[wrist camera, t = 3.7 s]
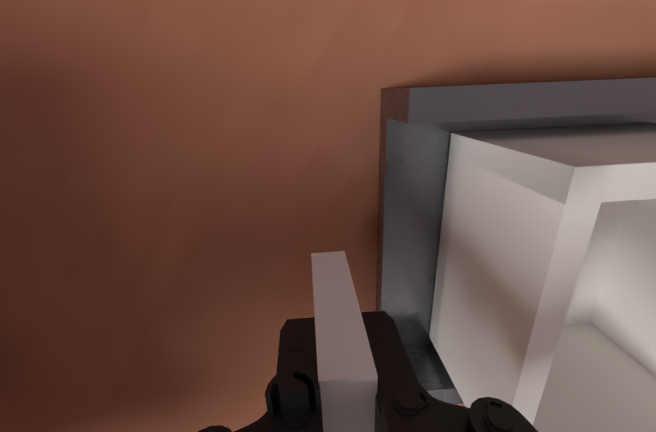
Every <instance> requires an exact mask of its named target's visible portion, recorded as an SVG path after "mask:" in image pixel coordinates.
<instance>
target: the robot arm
mask: <svg viewBox="0 0 656 432" xmlns="http://www.w3.org/2000/svg"><path fill="white" fill-rule="evenodd" d="M311 259H312V277H313V296H314V314H315V317H313V318H301V319H289V320H287V321H286V322H285V324H284V326H283V327H282V329H281V330H280V341H279V352H278V353H279V355H278V363H277V374H276V376H274V378H273V379H272V380H271V381H270V382H269V384H268V386H267V389H266V392H265V397H266V403H267V410H268V411H267V412H266V413H265V415H263V416H262V417H261V418H260V419H259V420H257V421H256V422H254V423H252V424H250V425H248V426H246V427H244V428H241V429H239V430H237V431H234V432H538V431H537V430H536V429H535V428H534V426H533V425H532V424H531V423H530V422H529V421H528V420H527V419H526V418H525V417H524V416H523V415H522V414H521V413H520V412H519V411H518V410H516V409H515V408H514V407H513V406H512V405H510V404H508V403H506V402H504V401H502V400H500V399H497V398H492V397H483V398H478V399H477V400H475V401H474V402H473V403H472V404H471V407H470V408H468V407H463V406H458V405H454V404H449V403H446V402H443V401H440V400H438V399H436V398H434V397H432V396H431V395H430V394H429V393H428V392H427V391H426V390H425V389H424V388H423V387H422V386H421V385H420V383H419V381H418V380H417V377H416V375H415V372H414V370H413V367H412V365H411V362H410V360H409V357H408V355H407V352H406V350H405V347H404V345H403V343H402V340H401V337H400V335H399V333H398V330H397V327H396V325H395V322H394V320H393V319H392V318H391V317H390V316H389V315H388V314H387V313H386V312H385V311H374V312H362V313H361V311H360V307H359V303H358V299H357V296H356V292H355V288H354V284H353V281H352V277H351V273H350V269H349V266H348V262H347V258H346V254H345V251H337V252H323V253H311ZM198 432H232V431H231V430H230V429H229V428H226V427H224V426H221V425H220V426H209V427H207V428H205V429H202V430H200V431H198Z"/></svg>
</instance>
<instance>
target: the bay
mask: <svg viewBox="0 0 656 432" xmlns="http://www.w3.org/2000/svg"><path fill="white" fill-rule="evenodd" d="M640 123H656V78H632V79H608V80H584V81H560V82H536V83H512V84H488V85H464V86H440V87H416V88H393V89H381V122H380V164H379V206H378V249H377V291H376V311H385V312H386V313H387V314H388V315H389V316H390V317H391V318H392V319H393V320H394V322H395V325H396V327H397V330H398V333H399V335H400V337H401V340H402V343H403V345H404V347H405V350H406V352H407V355H408V357H409V360H410V362H411V365H412V367H413V370H414V372H415V375H416V377H417V380H418V381H419V383H420V385H421V386H422V387H423V388H424V389H425V390H426V391H427V392H428V393H429V394H430V395H431V396H432V397H434V398H436V399H438V400H440V401H443V402H446V403H449V404H460V403H463V401H462V399H461V397H460V395H459V393H458V391H457V389H456V387H455V386H454V384H453V382H452V380H451V378H450V376H449V374H448V372H447V370H446V368H445V366H444V364H443V362H442V360H441V358H440V356H439V355H438V353H437V351H436V349H435V347H434V345H433V343H432V341H431V339H430V337H429V336H430V326H431V317H432V308H433V298H434V289H435V280H436V270H437V261H438V252H439V242H440V233H441V224H442V214H443V205H444V196H445V186H446V177H447V168H448V158H449V149H450V139H451V133H461V132H481V131H501V130H521V129H541V128H561V127H581V126H601V125H620V124H640Z"/></svg>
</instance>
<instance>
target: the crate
mask: <svg viewBox="0 0 656 432" xmlns="http://www.w3.org/2000/svg"><path fill="white" fill-rule="evenodd" d="M429 337H430V339H431V341H432V343H433V345H434V347H435V349H436V351H437V353H438V355H439V356H440V358H441V360H442V362H443V364H444V366H445V368H446V370H447V372H448V374H449V376H450V378H451V380H452V382H453V384H454V386H455V387H456V389H457V391H458V393H459V395H460V397H461V399H462V401H463V403H464V405H465V407H468V408H470V407H471V404H472V403H473V402H474V401H475V400H477V399H478V398H483V397H492V398H497V399H500V400H502V401H504V402H506V403H508V404H510V405H512V406H513V407H514V408H515V409H516V410H518V411H519V412H520V413H521V414H522V415H523V416H524V417H525V418H526V419H527V420H528V421H529V422H530V423H531V424H532V425H533V426H534V428H535V429H536V430H537V431H538V432H656V123H640V124H620V125H601V126H581V127H561V128H541V129H521V130H501V131H481V132H461V133H451V139H450V149H449V158H448V168H447V177H446V186H445V196H444V205H443V214H442V224H441V233H440V242H439V252H438V261H437V270H436V280H435V289H434V298H433V308H432V317H431V326H430V336H429Z"/></svg>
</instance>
